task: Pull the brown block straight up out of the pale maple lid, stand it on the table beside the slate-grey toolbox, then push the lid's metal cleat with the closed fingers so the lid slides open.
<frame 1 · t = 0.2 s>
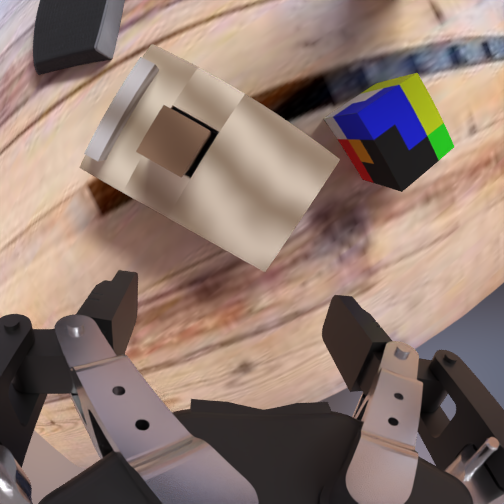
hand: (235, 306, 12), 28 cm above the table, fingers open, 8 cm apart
puzzle toy: (369, 130, 38), on the table
toolbox: (209, 154, 37), on the table
brown block: (187, 142, 35), point 1 cm above the table, touching toolbox
external hard drive: (83, 8, 27), on the table
lid: (208, 157, 27), point 10 cm above the table, slide at 0.0 cm
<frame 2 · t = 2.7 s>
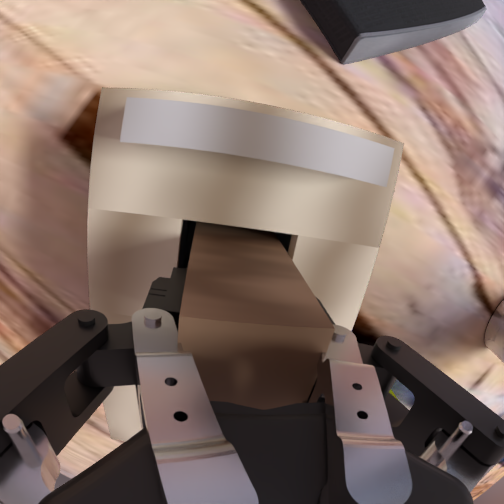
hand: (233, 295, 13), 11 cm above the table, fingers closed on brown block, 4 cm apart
toolbox: (219, 264, 24), on the table
brown block: (225, 231, 22), point 1 cm above the table, touching gripper, toolbox
lid: (224, 342, 15), point 10 cm above the table, slide at 0.0 cm
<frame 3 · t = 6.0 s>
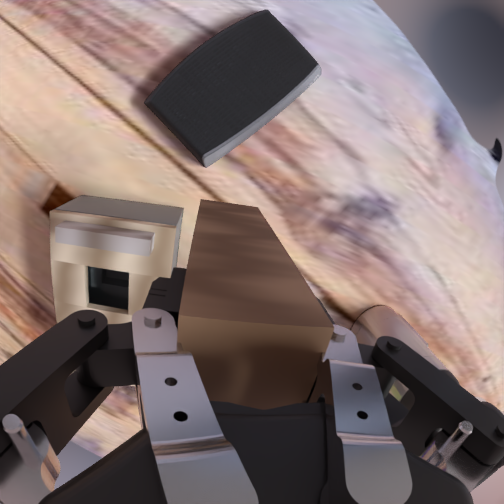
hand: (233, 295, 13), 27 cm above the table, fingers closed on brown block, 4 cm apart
toolbox: (125, 279, 41), on the table
brown block: (225, 230, 22), point 17 cm above the table, touching gripper
external hard drive: (233, 84, 34), on the table
lid: (105, 317, 31), point 10 cm above the table, slide at 0.0 cm
when the fingers open (11 cm above the table, at t = 9.7 s): brown block stays where it is, resting on external hard drive.
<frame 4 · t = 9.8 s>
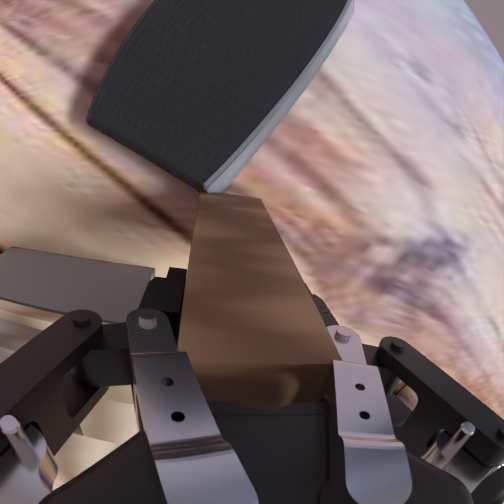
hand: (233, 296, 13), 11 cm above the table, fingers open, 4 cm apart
toolbox: (85, 360, 26), on the table
brown block: (226, 222, 21), point 2 cm above the table, touching external hard drive
external hard drive: (223, 53, 19), on the table, touching brown block
lid: (52, 436, 17), point 10 cm above the table, slide at 0.0 cm
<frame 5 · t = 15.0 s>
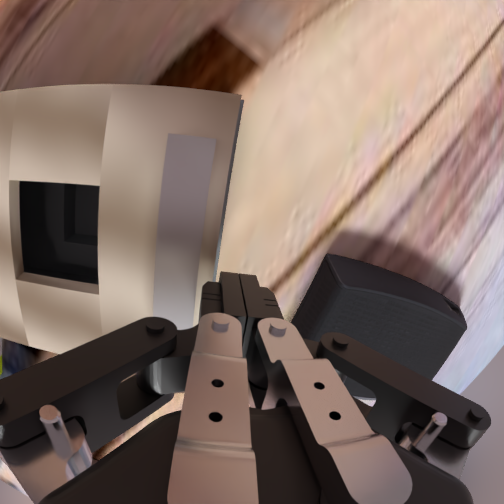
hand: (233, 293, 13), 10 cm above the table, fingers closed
toolbox: (76, 196, 20), on the table
external hard drive: (375, 332, 29), on the table
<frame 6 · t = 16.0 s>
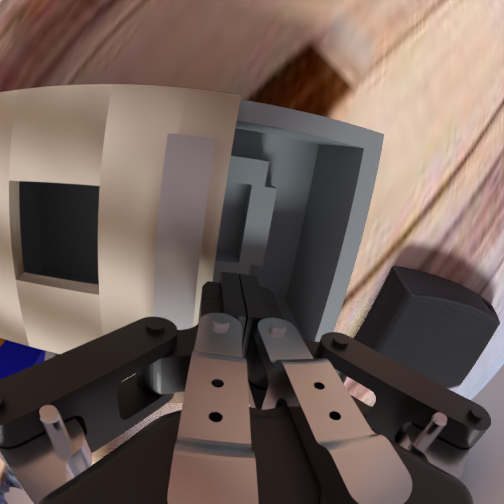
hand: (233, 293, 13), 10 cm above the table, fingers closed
puzzle toy: (15, 335, 24), on the table
toolbox: (164, 204, 22), on the table
external hard drive: (424, 331, 30), on the table
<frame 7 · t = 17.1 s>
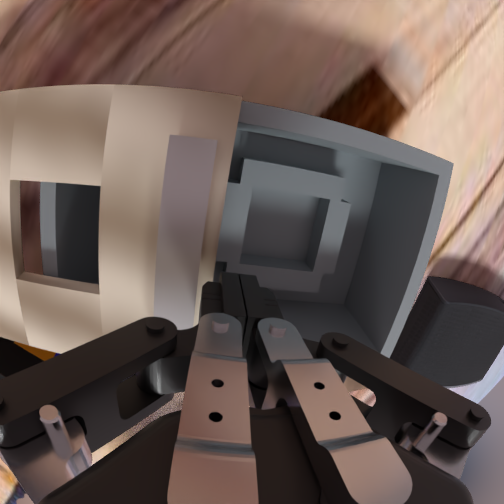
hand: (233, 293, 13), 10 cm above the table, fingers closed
puzzle toy: (55, 345, 25), on the table
toolbox: (236, 214, 23), on the table
external hard drive: (451, 332, 31), on the table
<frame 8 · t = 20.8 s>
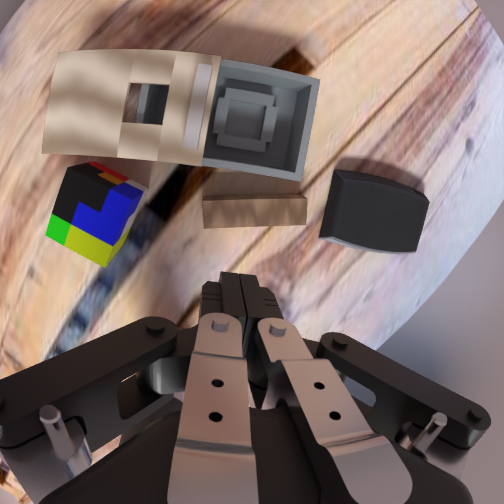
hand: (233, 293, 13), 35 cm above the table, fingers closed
puzzle toy: (109, 202, 45), on the table
toolbox: (223, 117, 43), on the table
brown block: (303, 208, 47), point 2 cm above the table, tilted 90°
external hard drive: (374, 213, 51), on the table
lid: (120, 100, 31), point 10 cm above the table, slide at 12.8 cm
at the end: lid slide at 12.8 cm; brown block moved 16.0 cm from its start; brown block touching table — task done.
